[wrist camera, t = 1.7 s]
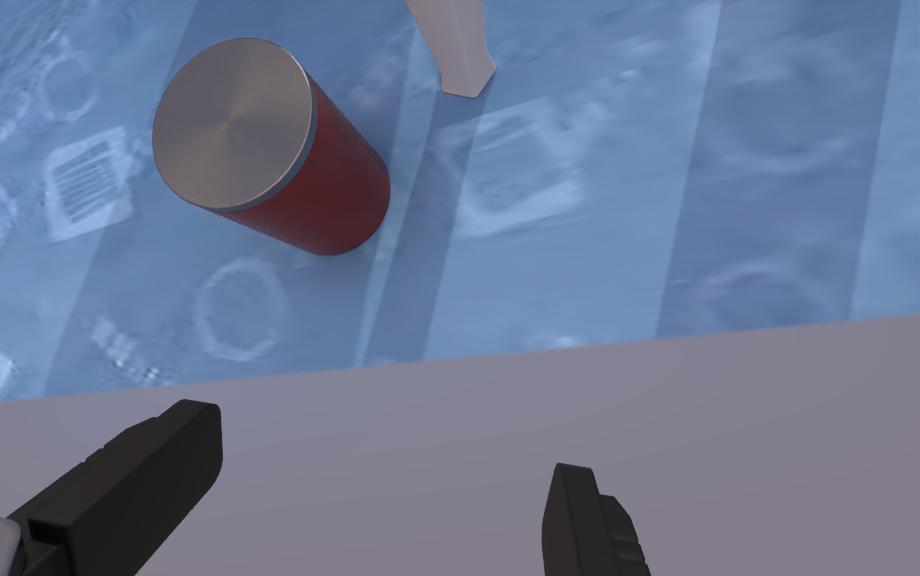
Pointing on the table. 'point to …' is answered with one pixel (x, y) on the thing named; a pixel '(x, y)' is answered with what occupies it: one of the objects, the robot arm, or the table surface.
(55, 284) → the table surface
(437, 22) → the perfume bottle
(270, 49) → the tin can
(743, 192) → the table surface
